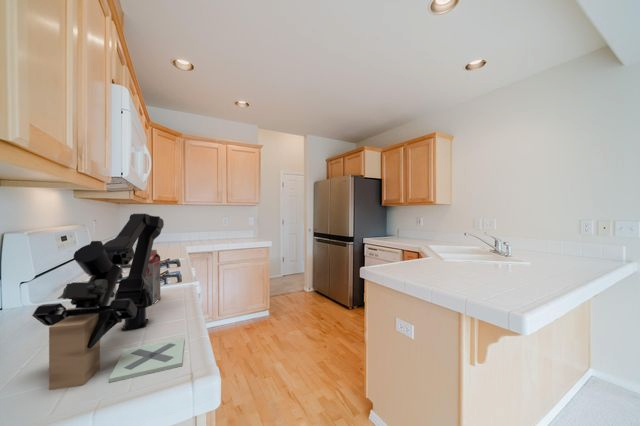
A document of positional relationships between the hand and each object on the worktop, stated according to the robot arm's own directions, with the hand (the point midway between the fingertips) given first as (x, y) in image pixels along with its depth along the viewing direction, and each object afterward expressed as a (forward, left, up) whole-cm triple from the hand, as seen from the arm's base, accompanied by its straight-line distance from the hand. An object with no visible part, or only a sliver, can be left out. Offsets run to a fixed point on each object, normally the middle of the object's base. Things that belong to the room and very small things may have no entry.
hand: (71, 349), depth 56 cm
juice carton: (-54, +6, -7) cm, 55 cm away
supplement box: (-51, -9, -7) cm, 53 cm away
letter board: (-3, +14, -7) cm, 16 cm away
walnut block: (-1, 0, -7) cm, 7 cm away
